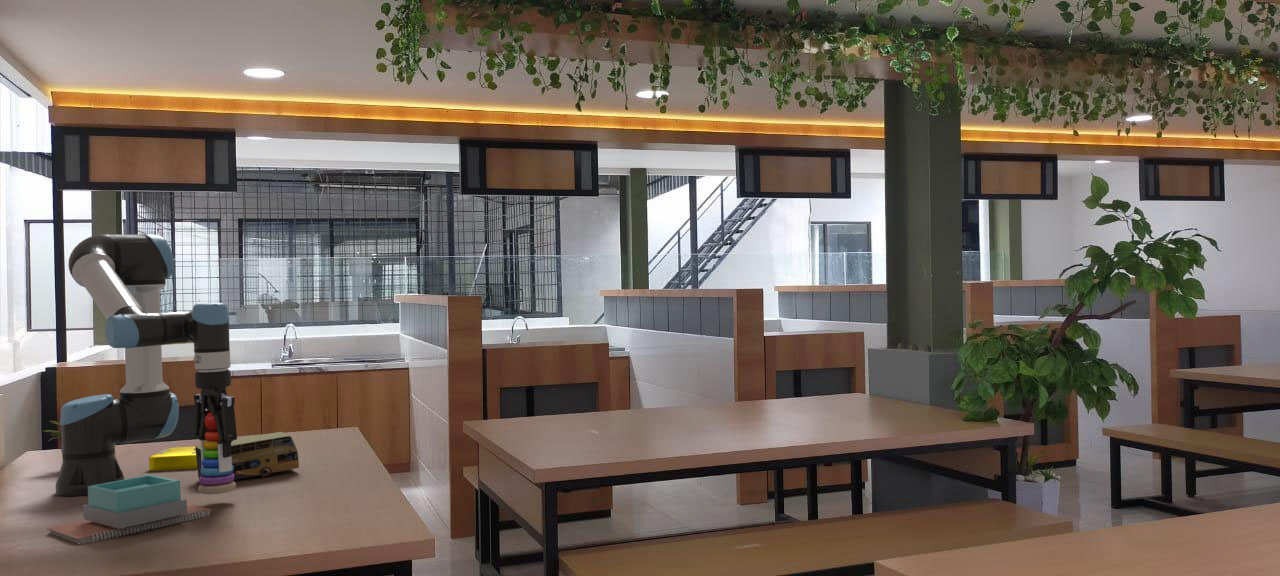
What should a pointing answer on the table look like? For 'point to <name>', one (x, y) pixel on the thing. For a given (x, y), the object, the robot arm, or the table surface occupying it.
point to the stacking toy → (213, 464)
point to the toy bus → (260, 455)
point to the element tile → (174, 459)
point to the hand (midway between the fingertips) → (216, 469)
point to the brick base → (135, 514)
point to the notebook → (95, 531)
